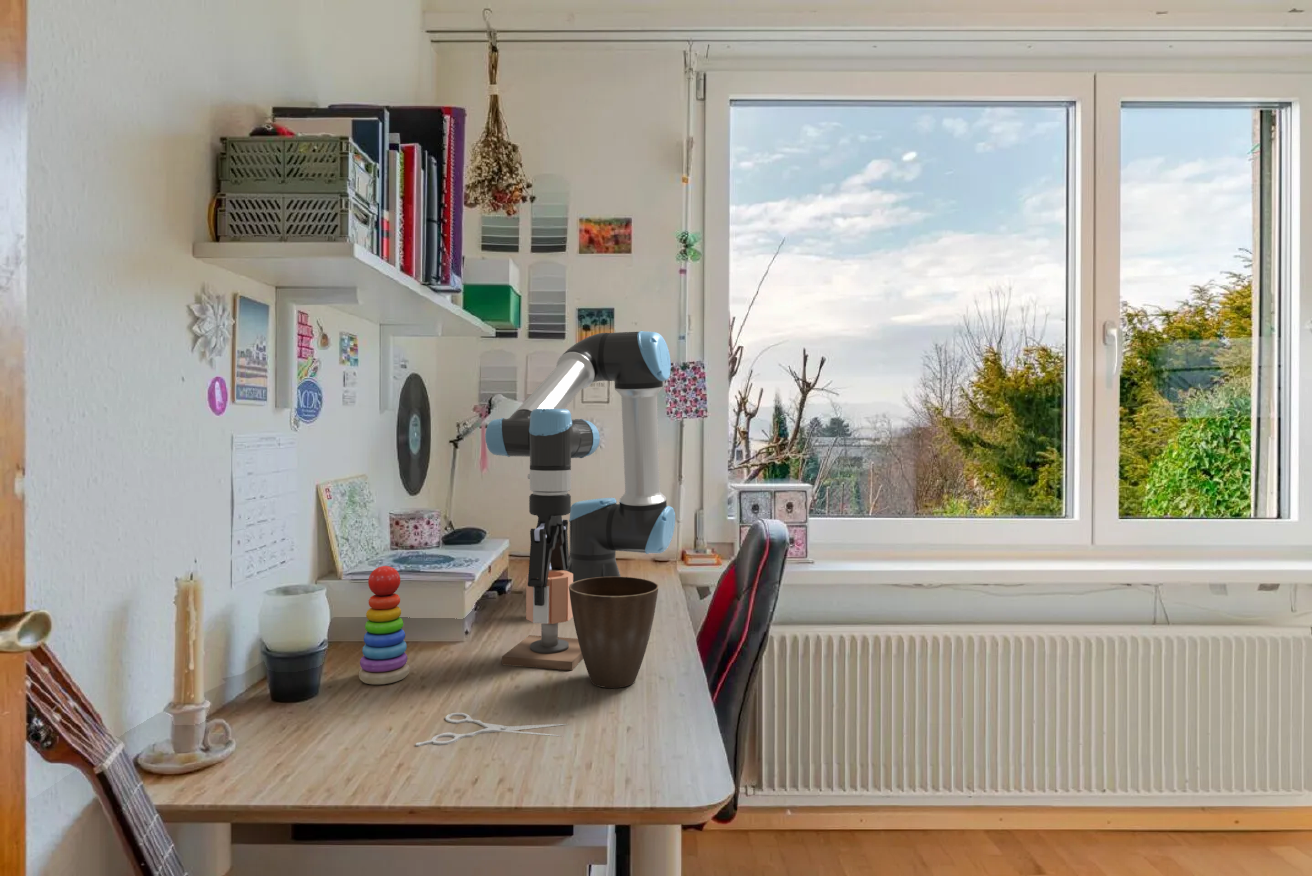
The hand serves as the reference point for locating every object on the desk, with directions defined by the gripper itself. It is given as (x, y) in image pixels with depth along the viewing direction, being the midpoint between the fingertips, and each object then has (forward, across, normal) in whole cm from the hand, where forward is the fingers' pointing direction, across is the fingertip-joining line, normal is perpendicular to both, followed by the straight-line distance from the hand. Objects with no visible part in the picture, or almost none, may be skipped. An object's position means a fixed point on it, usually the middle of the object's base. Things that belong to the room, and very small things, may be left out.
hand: (549, 616), depth 135 cm
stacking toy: (+8, +17, -23) cm, 30 cm away
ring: (0, 0, 0) cm, 0 cm away
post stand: (+7, 0, 0) cm, 7 cm away
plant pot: (+8, +9, +15) cm, 19 cm away
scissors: (+8, +32, +4) cm, 33 cm away
